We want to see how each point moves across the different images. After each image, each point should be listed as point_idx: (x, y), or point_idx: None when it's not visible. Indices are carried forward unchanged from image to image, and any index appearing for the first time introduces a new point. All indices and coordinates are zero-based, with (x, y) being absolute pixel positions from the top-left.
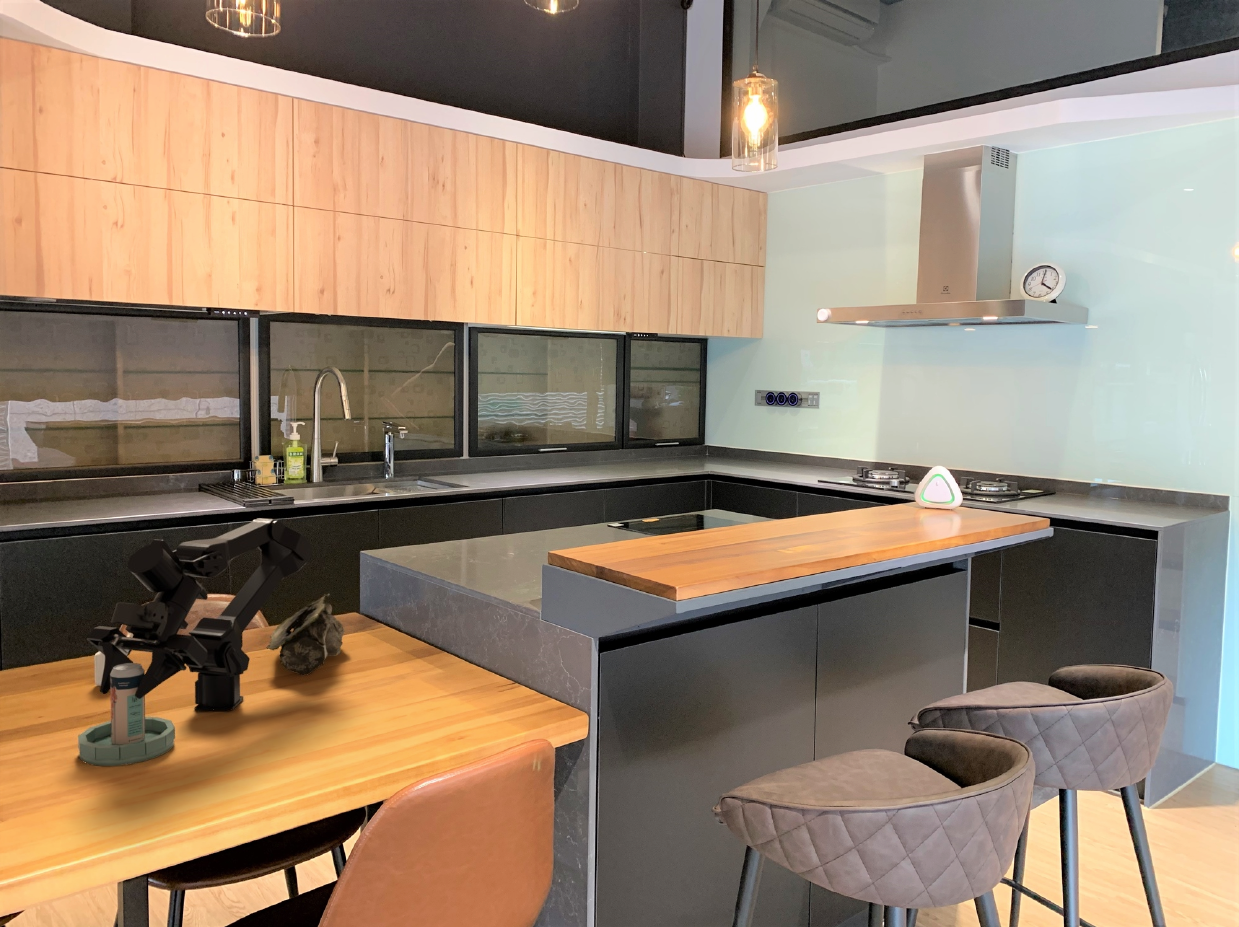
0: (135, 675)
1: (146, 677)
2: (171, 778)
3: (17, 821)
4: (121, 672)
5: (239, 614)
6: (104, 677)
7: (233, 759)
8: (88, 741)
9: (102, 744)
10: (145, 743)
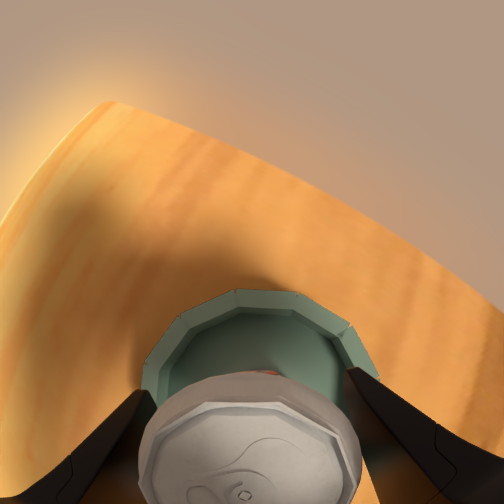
0: (141, 444)
1: (91, 449)
2: (69, 313)
3: (179, 130)
4: (198, 401)
5: None
6: (391, 405)
7: (40, 413)
8: (340, 352)
9: (308, 369)
10: (146, 364)
